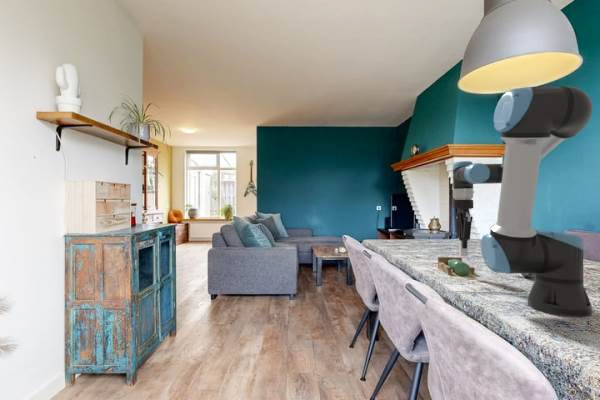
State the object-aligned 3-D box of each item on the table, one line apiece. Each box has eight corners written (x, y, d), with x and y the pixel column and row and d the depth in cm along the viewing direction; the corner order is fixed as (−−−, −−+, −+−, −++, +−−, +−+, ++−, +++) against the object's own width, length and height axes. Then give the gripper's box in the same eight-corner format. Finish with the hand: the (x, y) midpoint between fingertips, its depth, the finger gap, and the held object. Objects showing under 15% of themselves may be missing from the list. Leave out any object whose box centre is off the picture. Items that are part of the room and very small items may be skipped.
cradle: (482, 281, 133) (482, 266, 133) (453, 281, 134) (453, 266, 134) (461, 270, 155) (461, 257, 155) (437, 270, 156) (436, 256, 156)
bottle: (469, 263, 138) (456, 257, 153) (456, 263, 138) (444, 257, 153) (470, 276, 138) (457, 268, 153) (456, 276, 138) (444, 268, 153)
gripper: (479, 199, 131) (479, 258, 131) (466, 198, 144) (466, 253, 144) (459, 199, 132) (459, 258, 132) (448, 199, 145) (448, 253, 145)
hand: (463, 255), depth 138 cm, fingers closed
